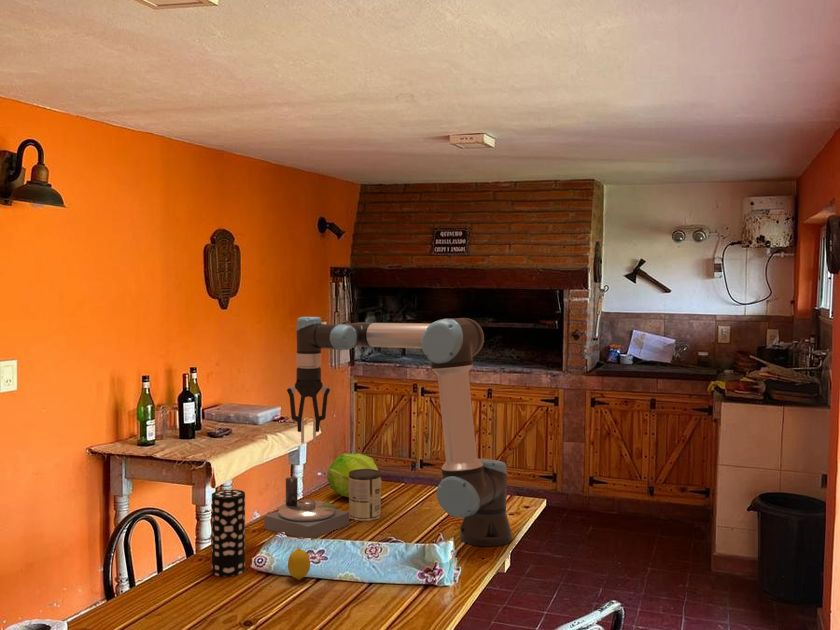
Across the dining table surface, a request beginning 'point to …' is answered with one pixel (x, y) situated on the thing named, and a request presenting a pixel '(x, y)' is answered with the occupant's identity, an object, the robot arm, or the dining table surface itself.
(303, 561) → the lemon
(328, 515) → the peg on round base
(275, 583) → the dining table surface
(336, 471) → the lettuce
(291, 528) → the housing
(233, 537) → the spotted tube
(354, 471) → the coffee can
